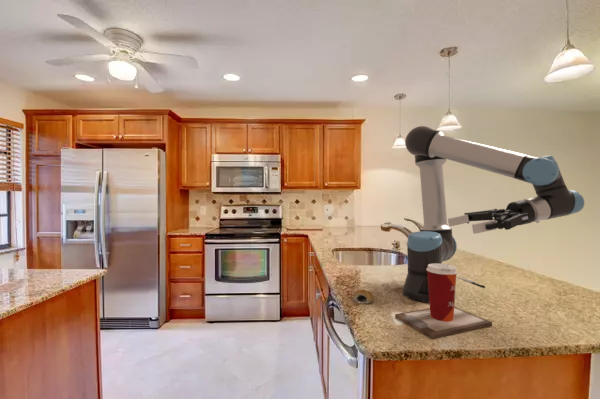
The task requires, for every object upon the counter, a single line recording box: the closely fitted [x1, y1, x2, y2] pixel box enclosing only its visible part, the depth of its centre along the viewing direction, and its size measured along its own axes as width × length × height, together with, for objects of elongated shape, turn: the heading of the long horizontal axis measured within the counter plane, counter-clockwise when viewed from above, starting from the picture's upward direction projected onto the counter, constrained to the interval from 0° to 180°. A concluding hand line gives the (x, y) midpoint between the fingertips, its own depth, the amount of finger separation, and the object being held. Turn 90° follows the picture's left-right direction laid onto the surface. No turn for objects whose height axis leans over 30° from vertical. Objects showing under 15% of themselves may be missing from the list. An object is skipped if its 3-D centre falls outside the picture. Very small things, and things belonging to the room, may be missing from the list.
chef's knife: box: [456, 276, 486, 289], centre depth 122 cm, size 19×1×3 cm
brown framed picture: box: [394, 306, 493, 340], centre depth 81 cm, size 14×22×2 cm, turn 110°
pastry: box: [352, 289, 374, 305], centre depth 99 cm, size 9×7×4 cm
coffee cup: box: [426, 263, 458, 321], centre depth 81 cm, size 8×8×15 cm
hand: (460, 225), depth 88 cm, fingers open, 13 cm apart
